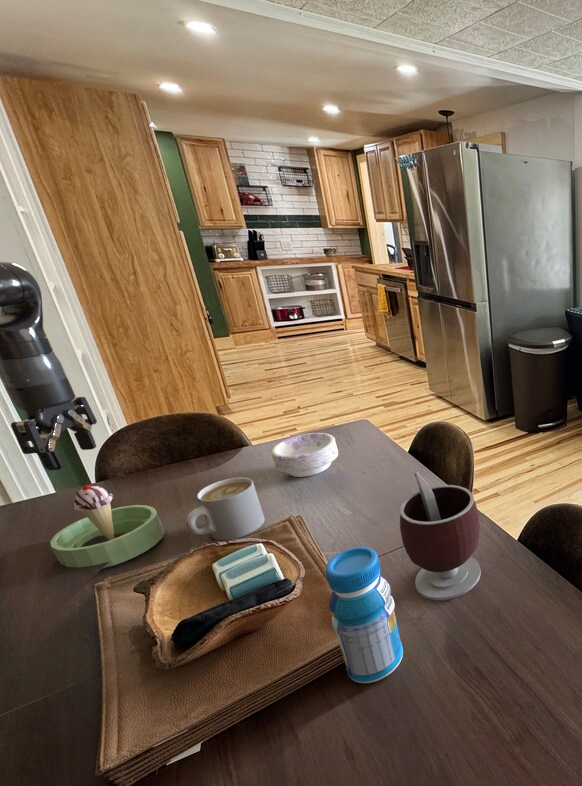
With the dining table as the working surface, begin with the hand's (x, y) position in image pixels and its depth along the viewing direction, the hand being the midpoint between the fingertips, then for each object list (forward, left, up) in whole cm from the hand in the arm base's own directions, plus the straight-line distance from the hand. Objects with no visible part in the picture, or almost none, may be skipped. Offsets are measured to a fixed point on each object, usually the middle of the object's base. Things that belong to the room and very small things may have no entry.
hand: (73, 458), depth 91 cm
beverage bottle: (+58, -43, -22) cm, 75 cm away
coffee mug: (+20, +2, -22) cm, 30 cm away
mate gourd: (+68, -25, -22) cm, 76 cm away
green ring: (0, 0, -22) cm, 22 cm away
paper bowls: (+29, +29, -22) cm, 46 cm away
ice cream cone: (0, 0, -21) cm, 21 cm away
